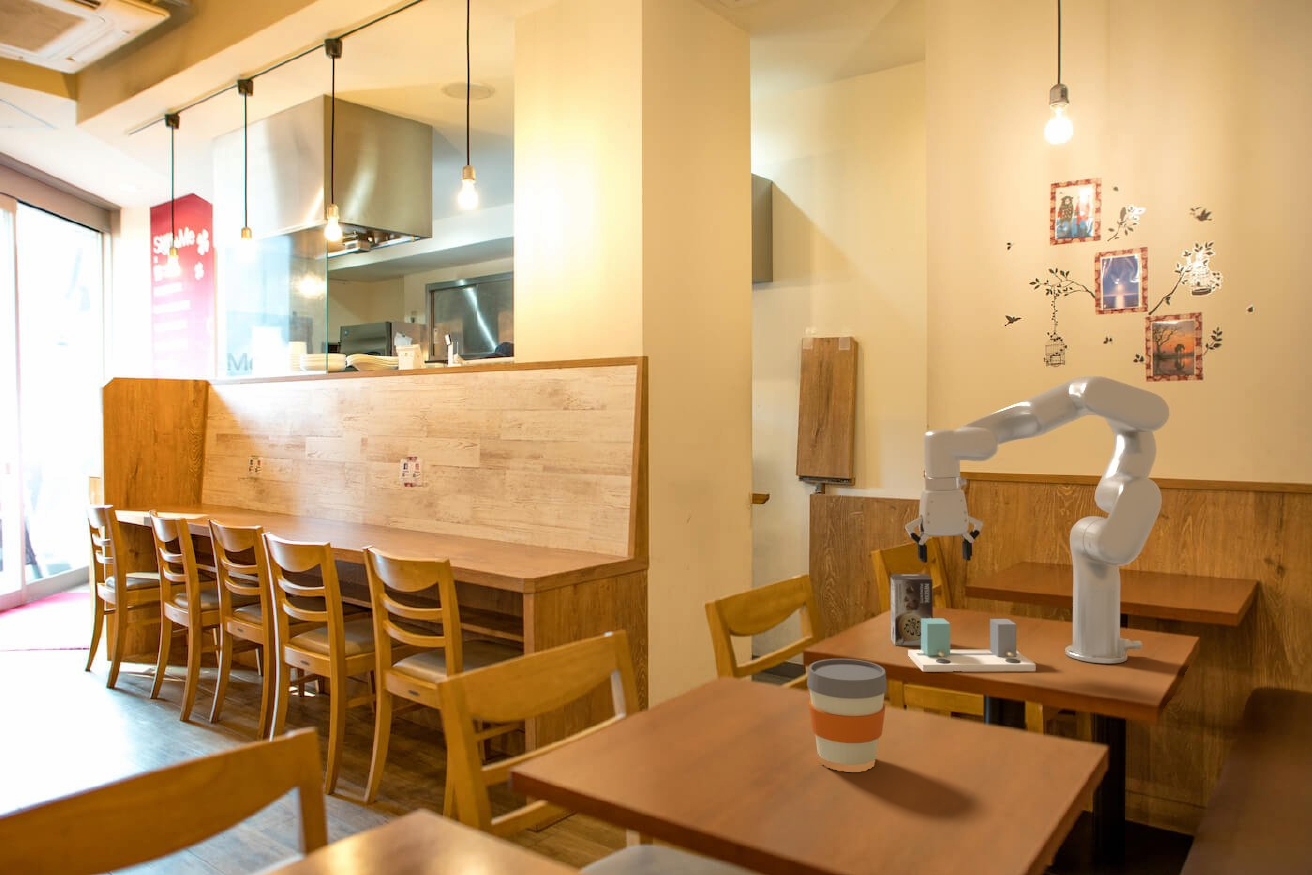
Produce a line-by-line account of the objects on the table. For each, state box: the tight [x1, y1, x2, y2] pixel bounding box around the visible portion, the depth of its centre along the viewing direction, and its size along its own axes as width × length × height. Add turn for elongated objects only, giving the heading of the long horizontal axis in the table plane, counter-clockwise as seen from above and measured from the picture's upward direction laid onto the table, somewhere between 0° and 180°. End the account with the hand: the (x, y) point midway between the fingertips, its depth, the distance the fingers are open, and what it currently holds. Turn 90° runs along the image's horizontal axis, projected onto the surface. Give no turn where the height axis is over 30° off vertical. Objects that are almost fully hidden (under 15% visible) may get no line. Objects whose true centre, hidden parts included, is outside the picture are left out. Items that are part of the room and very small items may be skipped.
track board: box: [907, 618, 1037, 673], centre depth 199 cm, size 24×12×9 cm, turn 89°
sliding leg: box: [920, 617, 951, 657], centre depth 200 cm, size 5×8×7 cm, turn 179°
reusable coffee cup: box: [806, 658, 888, 765], centre depth 145 cm, size 13×13×15 cm
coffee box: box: [890, 573, 934, 647], centre depth 217 cm, size 9×6×16 cm
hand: (945, 560), depth 203 cm, fingers open, 9 cm apart
